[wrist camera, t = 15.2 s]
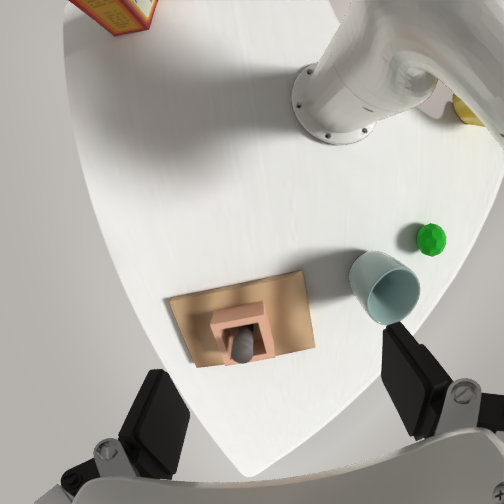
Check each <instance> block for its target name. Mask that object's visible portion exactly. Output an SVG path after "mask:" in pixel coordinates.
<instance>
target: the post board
mask: <svg viewBox="0 0 504 504" xmlns="http://www.w3.org/2000/svg"><path fill="white" fill-rule="evenodd" d="M261 301H264V305H265V309H266V313H267V317H268V321H269V325H270V329H271V333H272V337H273V341H274V350H275V356H278V355H283V354H287V353H292V352H297V351H301V350H306V349H310V348H315V342H314V336H313V329H312V323H311V317H310V311H309V305H308V299H307V294H306V288H305V282H304V277H303V273H302V271H301V270H300V271H296V272H291V273H287V274H282V275H278V276H273V277H269V278H264V279H260V280H255V281H251V282H246V283H241V284H236V285H232V286H227V287H222V288H217V289H212V290H207V291H202V292H197V293H192V294H187V295H182V296H177V297H172V298H171V299H170V301H169V303H170V305H171V308H172V311H173V313H174V316H175V318H176V321H177V323H178V326H179V328H180V331H181V333H182V335H183V338H184V340H185V342H186V345H187V347H188V349H189V352H190V354H191V356H192V358H193V361H194V363H195V365H196V367H197V368H199V367H208V366H216V365H223V364H225V363H224V361H223V358H222V356H221V353H220V351H219V348H218V345H217V343H216V340H215V337H214V335H213V332H212V329H211V326H210V323H211V319H212V316H213V313H214V311H216V310H221V309H226V308H231V307H236V306H241V305H246V304H251V303H256V302H261ZM227 330H228V333H229V336H230V339H231V342H232V351H231V357H232V359H233V360H234V361H235V362H237V363H247V362H249V361H251V359H252V358H253V341H254V340H259V339H263V338H262V334H261V331H260V327H259V324H258V323H252V324H247V325H242V326H237V327H231V328H227Z"/></svg>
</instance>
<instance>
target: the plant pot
mask: <svg viewBox="0 0 504 504" xmlns="http://www.w3.org/2000/svg"><path fill="white" fill-rule="evenodd" d="M453 105H454V108H455V111H456V113H457V115H458V116H459V118H460V119H461V120H462V121H463V122H465V123H467V124H471V125H477V126H483V127H485V125H484V124H483V123H482V122H481V121H480V119H479V118H478V117H477V116H476V115H475V114H474V113H473V111H472V110H471V109H470V108H469V107H468V106H467V105H466V104H465V103H464V102H463V101H462V100H461V99H460V98H459V97H457V96H456V95H455V94H453Z"/></svg>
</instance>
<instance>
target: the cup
mask: <svg viewBox="0 0 504 504" xmlns="http://www.w3.org/2000/svg"><path fill="white" fill-rule="evenodd" d="M349 283H350V286H351V289H352V291H353V293H354V295H355V296H356V298H357V300H358V301H359V303H360V304H361V306H362V307H363V308H364V310H365V311H366V313H367V314H368V315H369V316H370V317H371V318H372V319H373V320H374V321H376V322H377V323H379V324H382V325H389V324H392V323H395V322H398V321H401V320H403V319H404V318H405V317H406V316H408V315H409V314H410V312H411V311H412V310H413V309H414V307H415V305H416V304H417V302H418V299H419V296H420V283H419V280H418V278H417V277H416V275H415V274H414V272H412V271H411V270H410V269H409V268H408V267H407V266H405V265H404V264H402V263H401V262H400V261H398V260H396V259H395V258H393V257H391V256H390V255H388V254H386V253H383V252H379V251H369V252H366V253H364V254H362V255H361V256H359V257H358V258H357V259H356V261H355V262H354V263H353V265H352V267H351V269H350V272H349Z"/></svg>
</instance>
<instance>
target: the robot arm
mask: <svg viewBox="0 0 504 504" xmlns="http://www.w3.org/2000/svg"><path fill="white" fill-rule="evenodd" d="M307 73H310V75H309V74H307ZM438 79H439V80H440V81H441V82H442V83H444V84H445V85H446V86H447V87H448V88H449V89H450V90H451V91H452V92H453V93H454V94H455V95H456V96H457V97H459V98H460V99H461V100H462V101H463V102H464V103H465V104H466V105H467V106H468V107H469V108H470V109H471V110H472V111H473V113H474V114H475V115H476V116H477V117H478V118H479V119H480V121H481V122H482V123H483V124H484V125H485V127H486V128H487V129H488V130H489V132H490V133H491V134H492V135H493V137H494V138H495V139H496V140H497V142H498V143H499V144H500V146H501V147H502V148H503V149H504V0H352V1H351V4H350V7H349V9H348V11H347V13H346V15H345V17H344V19H343V21H342V23H341V25H340V26H339V28H338V30H337V32H336V33H335V35H334V37H333V38H332V40H331V42H330V44H329V45H328V47H327V49H326V50H325V52H324V54H323V56H322V57H321V59H320V61H319V62H317V63H315V64H312V65H310V66H308V67H307V68H305V69H304V70H303V71H302V72H301V73H300V74H299V75H298V77H297V78H296V80H295V82H294V85H293V88H292V93H291V102H292V107H293V110H294V113H295V115H296V117H297V119H298V120H299V122H300V123H301V125H302V126H303V127H304V128H305V129H306V130H307V131H308V132H309V133H310V134H312V135H313V136H314V137H316V138H318V139H320V140H322V141H324V142H327V143H330V144H336V145H348V144H352V143H355V142H358V141H361V140H362V139H364V138H365V137H367V136H368V135H369V134H370V133H371V132H372V131H373V129H374V127H375V126H376V123H377V122H378V121H380V120H383V119H385V118H388V117H390V116H393V115H396V114H398V113H401V112H404V111H407V110H409V109H411V108H414V107H416V106H418V105H420V104H422V103H423V102H425V101H426V100H427V99H428V98H429V97H430V96H431V94H432V93H433V91H434V89H435V87H436V84H437V81H438ZM298 105H299V106H300V108H297V106H298ZM362 130H363V131H364V133H363V132H362ZM325 135H328V138H326V137H325ZM381 378H382V381H383V383H384V386H385V387H386V389H387V391H388V393H389V395H390V397H391V399H392V401H393V403H394V405H395V407H396V409H397V411H398V413H399V415H400V417H401V419H402V421H403V423H404V426H405V428H406V430H407V432H408V434H409V435H410V436H414V438H415V440H416V441H418V440H420V439H422V438H425V440H422V441H420V442H417V443H414V444H411V445H409V446H406V447H404V448H401V449H399V450H396V451H393V452H390V453H387V454H385V455H382V456H378V457H376V458H372V459H369V460H366V461H363V462H359V463H356V464H352V465H348V466H345V467H341V468H337V469H332V470H328V471H323V472H319V473H313V474H308V475H302V476H296V477H290V478H283V479H274V480H264V481H251V482H232V483H231V482H230V483H229V482H228V483H205V482H204V483H203V482H184V481H171V480H172V475H173V474H175V473H176V471H177V467H178V463H179V459H180V455H181V451H182V446H183V443H184V439H185V435H186V431H187V427H188V423H189V419H190V412H189V409H188V408H187V406H186V404H185V403H184V401H183V399H182V397H181V396H180V394H179V392H178V390H177V389H176V387H175V385H174V383H173V381H172V379H171V378H170V376H169V374H168V373H167V372H165V371H164V370H163V369H153V370H150V371H149V372H148V374H147V376H146V378H145V380H144V382H143V384H142V386H141V388H140V390H139V392H138V394H137V396H136V398H135V400H134V402H133V405H132V407H131V409H130V411H129V413H128V415H127V417H126V419H125V421H124V424H123V426H122V428H121V430H120V432H119V434H118V436H119V438H118V440H117V439H114V438H108V439H104V440H102V441H100V442H99V443H98V444H97V445H96V447H95V448H94V452H93V453H94V458H92V459H90V460H88V461H86V462H84V463H82V464H80V465H78V466H75V467H73V468H71V469H69V470H67V471H66V472H65V473H64V474H63V475H62V478H61V486H60V485H58V484H57V485H56V486H54V487H53V488H52V489H51V490H49V491H48V492H47V493H46V494H45V495H43V496H42V497H40V498H39V499H38V500H37V501H36V502H35V503H34V504H504V395H497V394H488V393H481V388H480V385H479V384H478V383H477V382H476V381H474V380H472V379H468V378H463V379H459V380H456V381H455V382H454V381H453V380H452V379H451V378H450V376H449V375H448V374H447V373H446V371H445V370H444V369H443V367H442V366H441V365H440V364H439V362H438V361H437V360H436V359H435V357H434V356H433V355H432V354H431V353H430V351H429V350H428V349H427V348H426V346H424V345H423V344H420V345H419V343H418V342H417V341H416V340H415V339H414V337H413V336H412V335H411V334H410V333H409V331H408V330H407V329H406V328H405V327H404V325H403V324H402V323H401V322H400V321H398V322H395V323H392V324H389V325H387V326H386V329H384V330H383V346H382V369H381ZM160 479H167V480H160Z"/></svg>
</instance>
